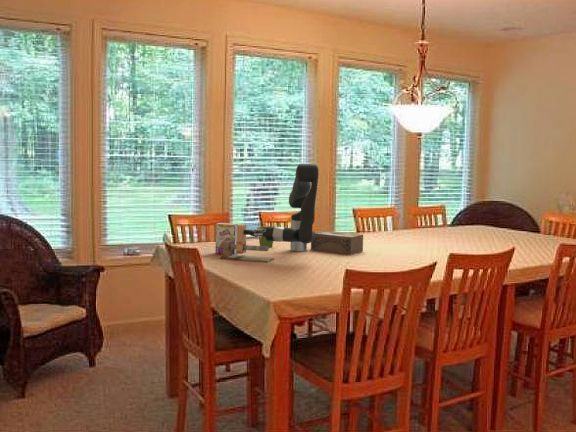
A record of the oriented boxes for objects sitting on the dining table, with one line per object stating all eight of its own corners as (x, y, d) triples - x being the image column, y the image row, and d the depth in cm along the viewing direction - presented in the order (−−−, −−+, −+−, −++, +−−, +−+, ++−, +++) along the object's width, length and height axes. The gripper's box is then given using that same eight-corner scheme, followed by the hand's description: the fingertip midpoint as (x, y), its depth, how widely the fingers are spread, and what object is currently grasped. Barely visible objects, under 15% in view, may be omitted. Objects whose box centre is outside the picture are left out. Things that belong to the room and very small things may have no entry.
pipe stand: (227, 255, 331) (228, 239, 330) (274, 259, 323) (274, 243, 323) (220, 258, 322) (220, 242, 321) (267, 262, 314) (267, 246, 313)
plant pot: (277, 245, 369) (277, 226, 368) (274, 248, 357) (275, 229, 356) (257, 244, 370) (257, 226, 369) (254, 248, 359) (254, 228, 357)
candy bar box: (215, 253, 336) (215, 223, 334) (218, 252, 341) (218, 222, 339) (234, 255, 333) (235, 224, 331) (237, 253, 338) (238, 223, 336)
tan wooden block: (240, 251, 327) (241, 224, 325) (246, 252, 326) (246, 224, 324) (236, 253, 321) (236, 225, 319) (241, 253, 320) (242, 225, 319)
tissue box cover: (310, 250, 357) (311, 232, 356) (323, 247, 369) (324, 230, 368) (350, 255, 343) (351, 237, 342) (362, 252, 355) (363, 234, 354)
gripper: (280, 225, 322) (249, 223, 328) (271, 228, 310) (239, 226, 315) (280, 239, 323) (248, 237, 328) (271, 243, 311) (239, 240, 316)
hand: (244, 231), depth 322 cm, fingers closed
